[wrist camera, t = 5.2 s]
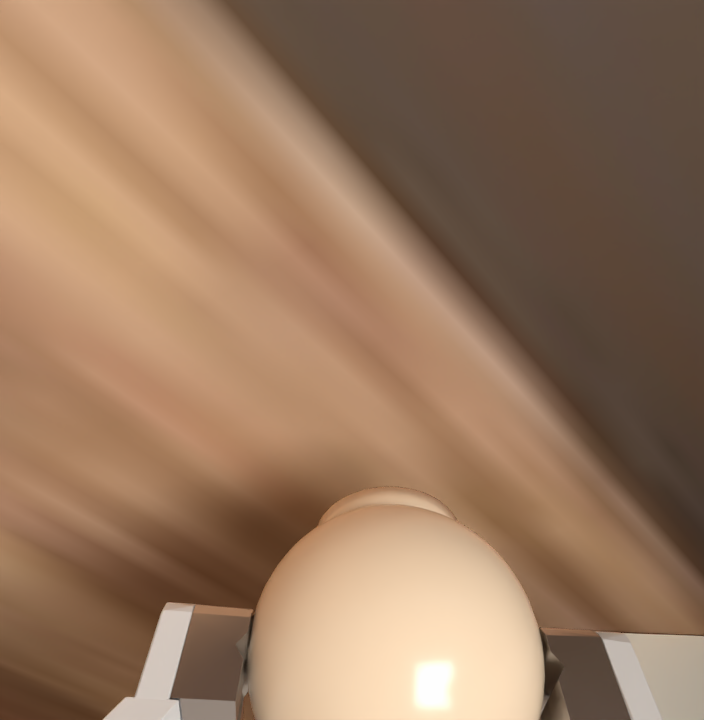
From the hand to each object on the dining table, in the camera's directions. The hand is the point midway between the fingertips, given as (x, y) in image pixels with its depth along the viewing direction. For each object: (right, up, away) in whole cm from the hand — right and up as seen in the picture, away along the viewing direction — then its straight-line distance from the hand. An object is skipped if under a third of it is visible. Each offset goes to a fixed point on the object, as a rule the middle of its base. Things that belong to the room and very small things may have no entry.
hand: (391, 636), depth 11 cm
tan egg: (0, +1, +2) cm, 2 cm away
